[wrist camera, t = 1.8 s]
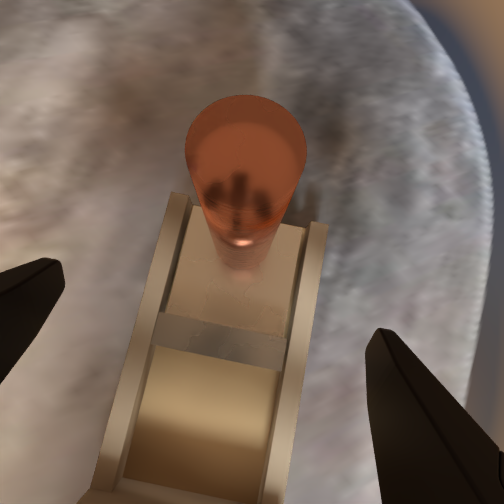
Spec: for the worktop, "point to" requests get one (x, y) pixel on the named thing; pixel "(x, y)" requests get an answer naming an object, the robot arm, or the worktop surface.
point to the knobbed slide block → (237, 235)
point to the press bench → (204, 399)
